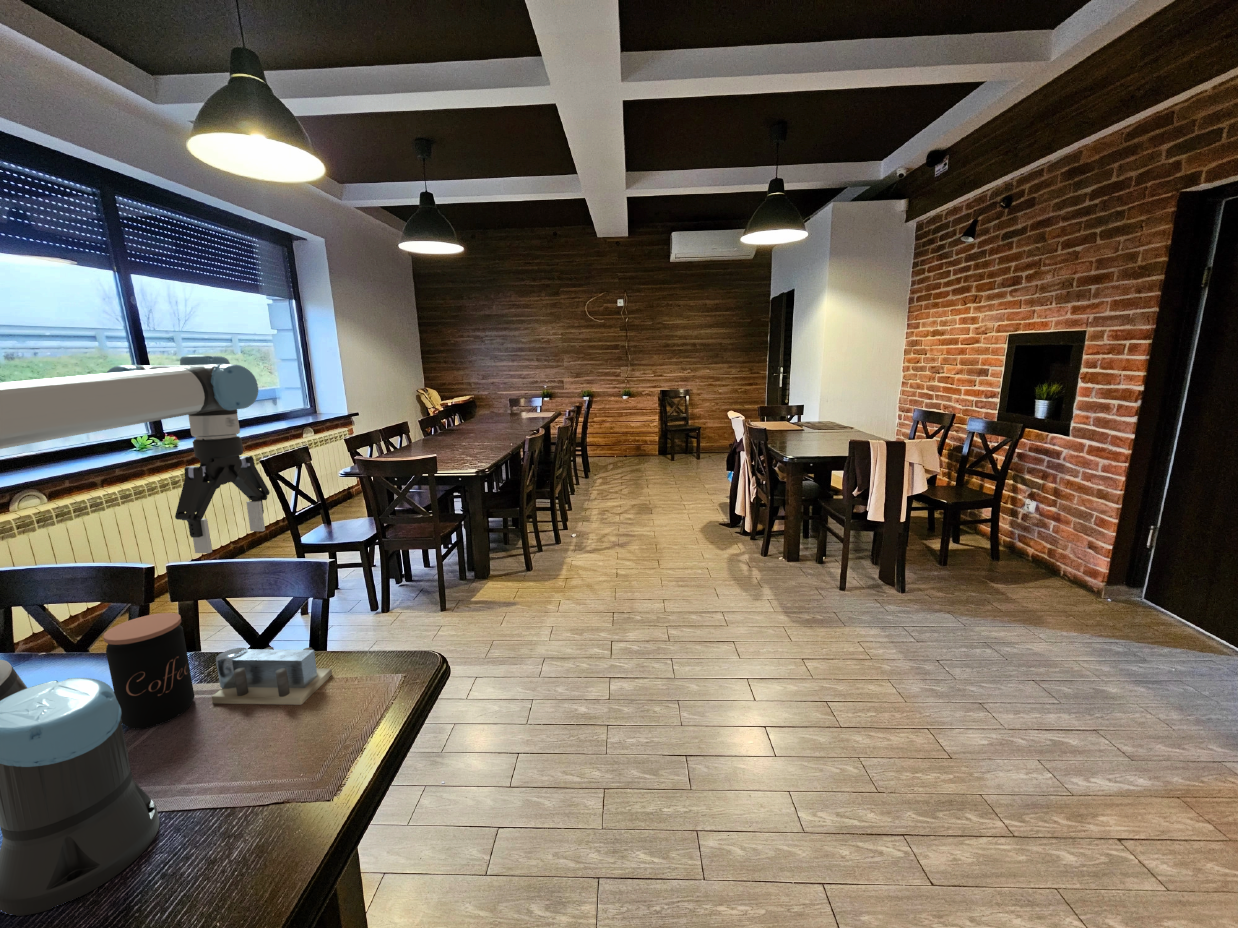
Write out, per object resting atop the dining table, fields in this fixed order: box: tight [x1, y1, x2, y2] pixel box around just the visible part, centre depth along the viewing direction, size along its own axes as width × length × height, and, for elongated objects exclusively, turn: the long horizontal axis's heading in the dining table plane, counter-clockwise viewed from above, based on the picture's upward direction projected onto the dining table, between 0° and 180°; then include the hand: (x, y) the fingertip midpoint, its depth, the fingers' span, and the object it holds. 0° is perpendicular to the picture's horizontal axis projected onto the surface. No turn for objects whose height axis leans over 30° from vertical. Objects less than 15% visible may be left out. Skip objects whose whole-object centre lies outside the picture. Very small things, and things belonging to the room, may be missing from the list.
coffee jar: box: [102, 612, 195, 730], centre depth 95 cm, size 11×11×18 cm
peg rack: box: [211, 646, 333, 706], centre depth 103 cm, size 10×18×6 cm, turn 87°
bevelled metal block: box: [215, 647, 317, 689], centre depth 103 cm, size 19×5×6 cm, turn 88°
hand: (232, 541), depth 102 cm, fingers open, 13 cm apart
